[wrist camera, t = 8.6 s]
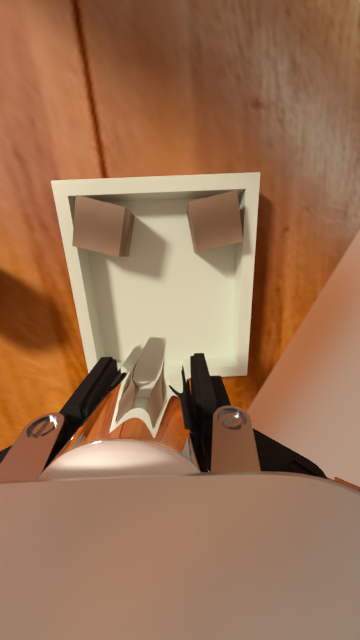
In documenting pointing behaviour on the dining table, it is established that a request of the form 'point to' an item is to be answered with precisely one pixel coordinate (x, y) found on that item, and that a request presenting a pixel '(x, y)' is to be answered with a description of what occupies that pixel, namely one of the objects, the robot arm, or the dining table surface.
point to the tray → (164, 271)
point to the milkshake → (137, 421)
